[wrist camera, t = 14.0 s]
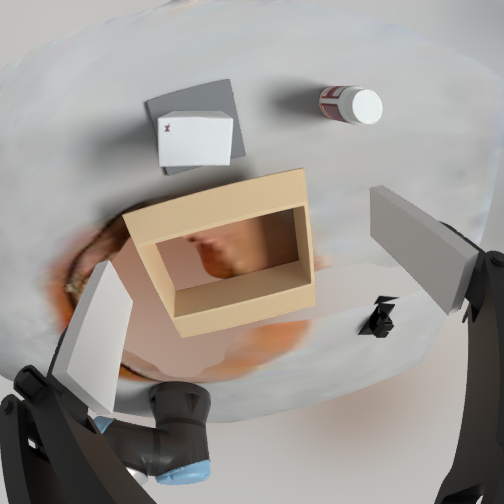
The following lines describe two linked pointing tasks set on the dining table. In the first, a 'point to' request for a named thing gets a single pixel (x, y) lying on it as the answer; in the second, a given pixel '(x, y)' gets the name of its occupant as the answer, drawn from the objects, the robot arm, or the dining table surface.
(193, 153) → the skincare box
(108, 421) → the robot arm
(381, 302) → the black boxy piece
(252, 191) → the carton
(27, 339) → the dining table surface
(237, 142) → the coaster
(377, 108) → the pill bottle
